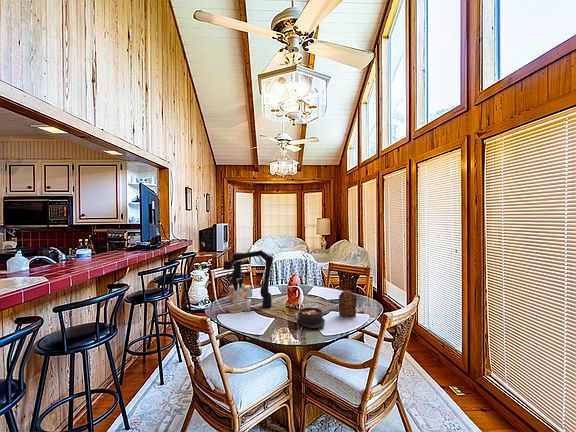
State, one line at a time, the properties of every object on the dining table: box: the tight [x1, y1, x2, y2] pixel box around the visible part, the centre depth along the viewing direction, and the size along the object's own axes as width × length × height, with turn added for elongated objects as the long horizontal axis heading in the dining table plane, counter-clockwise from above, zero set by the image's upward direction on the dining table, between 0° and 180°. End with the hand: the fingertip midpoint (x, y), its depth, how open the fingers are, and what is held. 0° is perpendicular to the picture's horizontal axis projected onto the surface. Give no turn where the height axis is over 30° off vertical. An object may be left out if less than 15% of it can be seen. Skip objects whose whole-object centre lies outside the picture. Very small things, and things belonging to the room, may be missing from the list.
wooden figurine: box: [338, 289, 357, 319], centre depth 216 cm, size 12×6×18 cm, turn 95°
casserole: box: [296, 307, 326, 329], centre depth 202 cm, size 25×19×8 cm
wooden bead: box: [228, 303, 244, 314], centre depth 230 cm, size 10×10×4 cm
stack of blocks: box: [228, 283, 253, 303], centre depth 262 cm, size 21×6×12 cm, turn 143°
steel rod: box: [246, 298, 252, 313], centre depth 228 cm, size 3×3×9 cm
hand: (238, 289), depth 239 cm, fingers open, 9 cm apart
